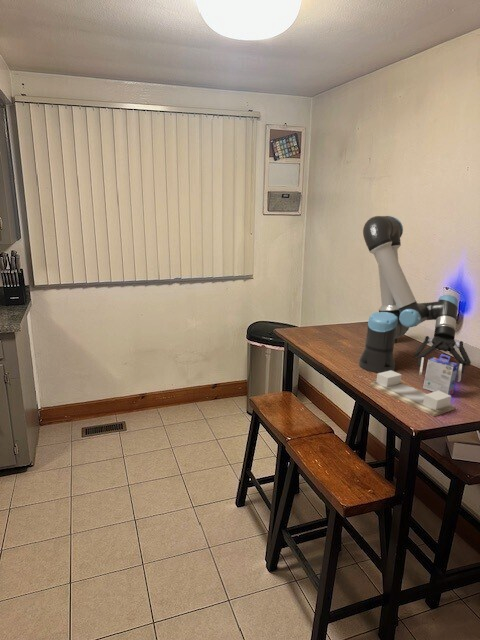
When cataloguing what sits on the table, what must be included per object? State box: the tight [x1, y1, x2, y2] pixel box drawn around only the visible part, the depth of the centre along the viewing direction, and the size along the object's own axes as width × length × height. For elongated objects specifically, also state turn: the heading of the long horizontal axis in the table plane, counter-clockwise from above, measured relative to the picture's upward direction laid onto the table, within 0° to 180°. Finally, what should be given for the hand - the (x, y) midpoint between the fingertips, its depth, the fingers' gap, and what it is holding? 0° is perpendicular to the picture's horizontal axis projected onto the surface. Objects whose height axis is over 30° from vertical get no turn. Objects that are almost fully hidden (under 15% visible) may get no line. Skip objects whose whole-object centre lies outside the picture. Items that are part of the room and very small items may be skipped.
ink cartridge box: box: [422, 353, 459, 396], centre depth 167 cm, size 10×6×14 cm, turn 45°
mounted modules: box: [375, 370, 452, 410], centre depth 162 cm, size 26×8×4 cm, turn 32°
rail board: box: [369, 379, 456, 417], centre depth 163 cm, size 28×12×2 cm, turn 32°
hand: (439, 377), depth 168 cm, fingers open, 13 cm apart
